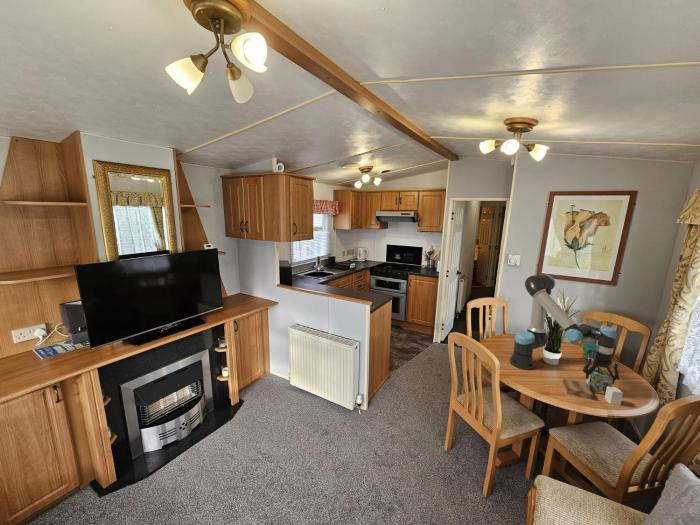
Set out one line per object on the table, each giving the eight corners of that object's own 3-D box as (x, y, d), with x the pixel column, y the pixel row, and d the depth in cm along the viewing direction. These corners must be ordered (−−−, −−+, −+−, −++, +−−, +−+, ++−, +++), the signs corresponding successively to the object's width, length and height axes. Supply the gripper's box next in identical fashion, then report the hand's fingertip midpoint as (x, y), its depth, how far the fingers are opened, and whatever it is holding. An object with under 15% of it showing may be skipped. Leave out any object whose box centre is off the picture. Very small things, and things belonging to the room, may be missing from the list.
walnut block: (566, 394, 174) (567, 388, 173) (562, 384, 184) (563, 378, 184) (592, 400, 169) (593, 394, 168) (586, 389, 179) (587, 383, 178)
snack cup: (591, 363, 210) (593, 350, 208) (575, 357, 219) (577, 344, 218) (603, 359, 216) (605, 347, 214) (587, 353, 225) (589, 341, 224)
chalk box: (610, 395, 173) (615, 373, 170) (592, 392, 175) (596, 370, 172) (602, 386, 181) (606, 365, 179) (585, 384, 184) (588, 362, 181)
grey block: (610, 404, 165) (612, 391, 163) (604, 398, 170) (606, 386, 168) (620, 405, 164) (622, 392, 162) (614, 399, 169) (616, 387, 167)
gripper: (583, 350, 175) (577, 384, 179) (631, 359, 166) (624, 394, 170) (579, 345, 182) (574, 378, 186) (626, 353, 172) (619, 387, 176)
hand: (598, 385), depth 178 cm, fingers closed on chalk box, 10 cm apart
